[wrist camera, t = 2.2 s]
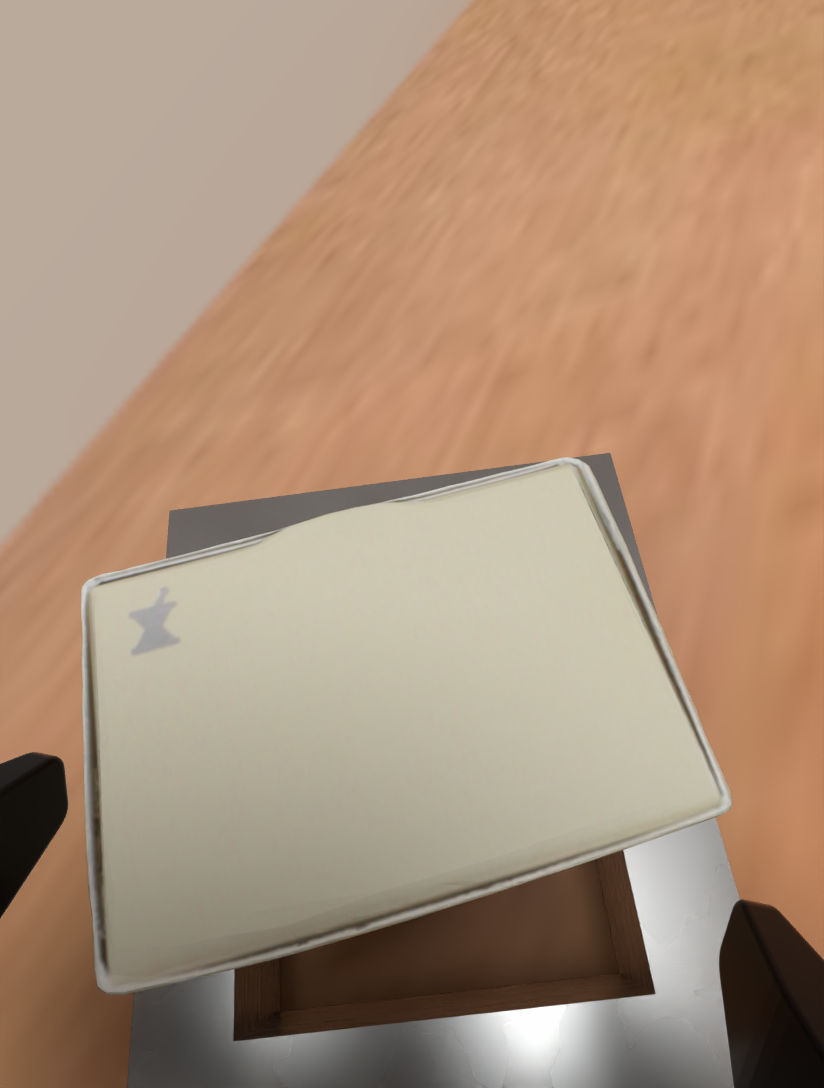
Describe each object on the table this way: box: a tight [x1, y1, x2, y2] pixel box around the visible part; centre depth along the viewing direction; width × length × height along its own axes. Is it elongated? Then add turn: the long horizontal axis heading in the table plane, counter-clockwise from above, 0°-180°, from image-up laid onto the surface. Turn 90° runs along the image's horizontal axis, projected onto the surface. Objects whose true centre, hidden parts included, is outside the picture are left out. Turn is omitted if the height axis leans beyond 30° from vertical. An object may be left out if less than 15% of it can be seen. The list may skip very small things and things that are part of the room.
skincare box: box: [81, 457, 732, 995], centre depth 12 cm, size 6×4×12 cm
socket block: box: [127, 453, 740, 1088], centre depth 16 cm, size 16×12×4 cm
